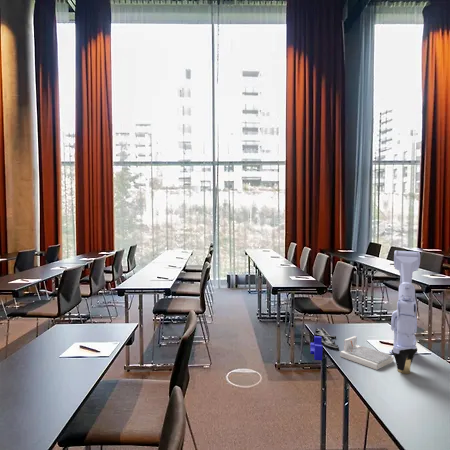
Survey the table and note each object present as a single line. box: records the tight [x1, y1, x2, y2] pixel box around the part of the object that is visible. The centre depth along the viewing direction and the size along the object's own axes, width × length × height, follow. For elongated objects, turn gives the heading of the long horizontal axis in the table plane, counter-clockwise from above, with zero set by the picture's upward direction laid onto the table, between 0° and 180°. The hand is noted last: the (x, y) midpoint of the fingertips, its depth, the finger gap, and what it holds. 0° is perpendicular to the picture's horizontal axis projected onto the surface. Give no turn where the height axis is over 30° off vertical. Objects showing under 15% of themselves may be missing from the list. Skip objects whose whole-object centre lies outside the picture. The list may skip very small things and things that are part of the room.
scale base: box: [339, 335, 395, 370], centre depth 153 cm, size 13×16×6 cm
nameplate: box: [313, 327, 340, 351], centre depth 176 cm, size 28×2×10 cm
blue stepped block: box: [309, 335, 324, 361], centre depth 157 cm, size 12×4×6 cm, turn 168°
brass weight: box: [396, 357, 412, 375], centre depth 142 cm, size 4×4×6 cm
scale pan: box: [349, 345, 393, 363], centre depth 152 cm, size 10×13×1 cm
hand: (403, 367), depth 142 cm, fingers open, 5 cm apart
